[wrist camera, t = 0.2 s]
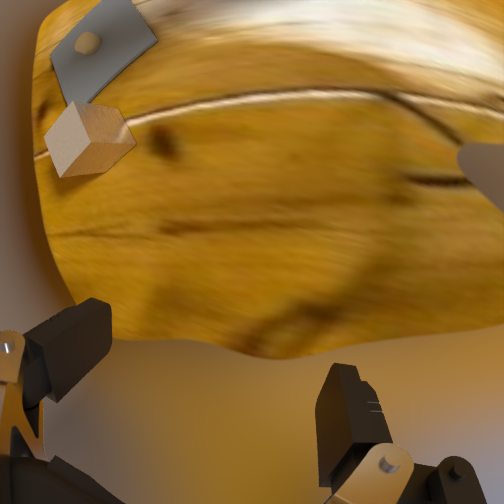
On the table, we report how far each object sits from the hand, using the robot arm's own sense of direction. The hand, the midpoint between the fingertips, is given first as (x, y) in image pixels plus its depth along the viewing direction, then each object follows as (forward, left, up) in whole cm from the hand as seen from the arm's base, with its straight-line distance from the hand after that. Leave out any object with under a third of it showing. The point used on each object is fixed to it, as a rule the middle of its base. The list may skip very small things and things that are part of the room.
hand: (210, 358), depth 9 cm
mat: (-1, -37, -23) cm, 43 cm away
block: (+7, -23, -23) cm, 33 cm away
